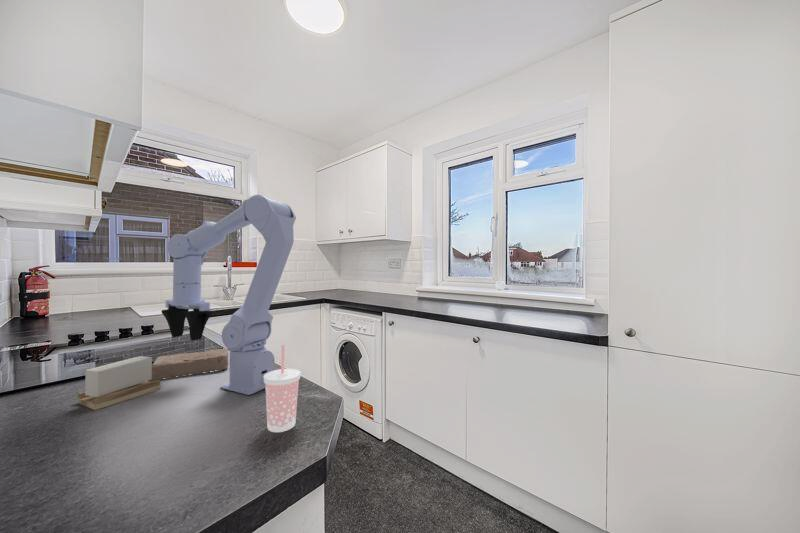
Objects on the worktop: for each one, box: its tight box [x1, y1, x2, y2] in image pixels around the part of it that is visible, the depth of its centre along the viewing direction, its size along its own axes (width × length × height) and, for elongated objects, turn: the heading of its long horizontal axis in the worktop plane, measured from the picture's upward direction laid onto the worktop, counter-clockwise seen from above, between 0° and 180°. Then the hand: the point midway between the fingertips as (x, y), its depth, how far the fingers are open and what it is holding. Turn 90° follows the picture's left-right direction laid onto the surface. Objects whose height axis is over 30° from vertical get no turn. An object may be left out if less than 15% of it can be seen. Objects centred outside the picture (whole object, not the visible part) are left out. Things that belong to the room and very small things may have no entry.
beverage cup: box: [263, 344, 302, 433], centre depth 53 cm, size 6×6×14 cm
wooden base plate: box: [77, 380, 161, 411], centre depth 64 cm, size 7×11×2 cm, turn 156°
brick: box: [150, 348, 229, 381], centre depth 81 cm, size 16×8×5 cm, turn 120°
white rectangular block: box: [84, 355, 153, 397], centre depth 64 cm, size 10×4×5 cm, turn 165°
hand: (186, 338), depth 75 cm, fingers open, 7 cm apart
